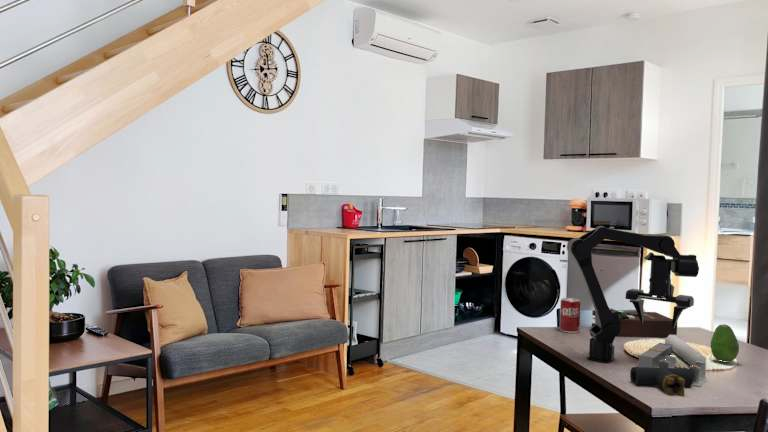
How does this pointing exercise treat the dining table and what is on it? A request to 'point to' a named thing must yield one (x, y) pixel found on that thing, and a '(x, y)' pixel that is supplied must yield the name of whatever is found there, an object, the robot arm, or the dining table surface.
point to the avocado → (724, 343)
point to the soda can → (570, 315)
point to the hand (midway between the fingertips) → (657, 325)
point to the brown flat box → (644, 325)
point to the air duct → (655, 355)
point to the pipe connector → (662, 378)
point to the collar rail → (696, 370)
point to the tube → (684, 350)
